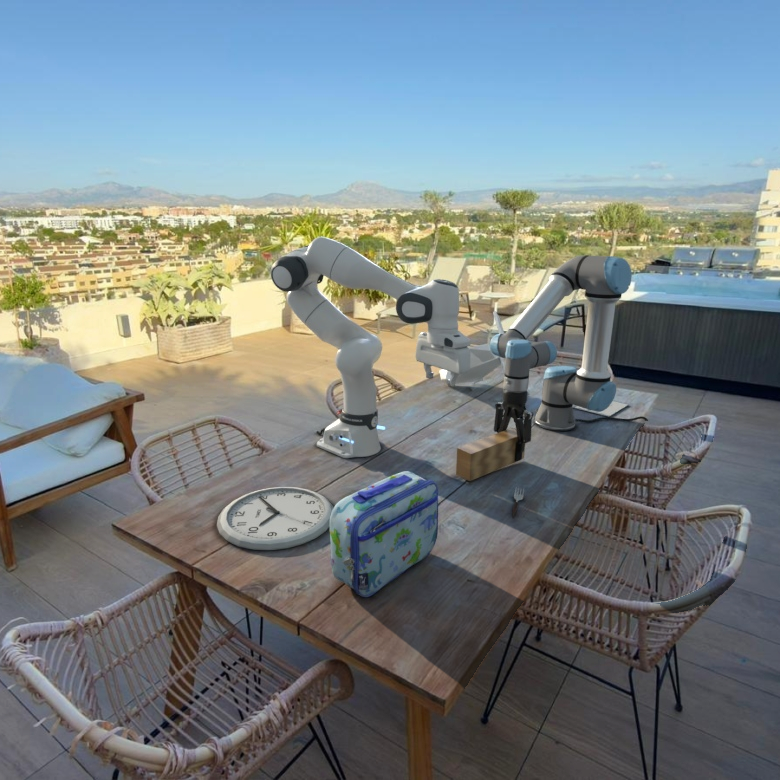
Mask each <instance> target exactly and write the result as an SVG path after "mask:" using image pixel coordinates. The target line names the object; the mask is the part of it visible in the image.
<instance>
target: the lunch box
mask: <svg viewBox="0 0 780 780" xmlns="http://www.w3.org/2000/svg"><path fill="white" fill-rule="evenodd" d="M438 531H439V490H438V485H437V483H436V482H435V481H434V480H432V479H424V478H423V477H422V476H420V475H417V474H415V473H414V472H412V471H408V470H406V471H405V470H404V471H400V472H399V473H395V474H393V475H391V476H388V477H386V478H384V479H382V480H379V481H377V482H375V483H373V484H371V485H368V486H366V487H364V488H362V489H360V490H358V491H356V492H353V493H352V494H350V495H347V496H345V497H343V498H342V499H340V500H339V501H338V502H337V503H335V505H334V506H333V510H332V513H331V516H330V526H329V541H330V565H331V572H332V575H333V577H334V579H335V580H337V581H339V582H341V583H343V584H345V585H347V586H348V587H349V588H351V589H352V590H354V592H355V594H357V595H359V596H360V597H363V598H369V597H371V596H374V595H375V594H376V593H377V592H378V591H380V590H381V589H383V588H384V587H385V586H386V585H387V584H389V583H390V582H392V581H393V580H395V579H397V578H398V577H399V576H400V575H402V574H403V573H404V572H405V571H406V570H408V569H409V568H410V567H412V566H413V565H416V564H417V563H419V562H421V561H422V560H424V559H425V558H426V557H428V555H430V553H431V552H432V550H433V549H434V547H435V545H436V542H437V540H438Z"/></svg>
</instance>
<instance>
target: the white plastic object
mask: <svg viewBox="0 0 780 780" xmlns="http://www.w3.org/2000/svg"><path fill="white" fill-rule="evenodd" d="M492 315H493V319H494V321H495V324H496V325H495V326H496V328H497V332H498V334H505V331H504V328H503V325H502V321H501V318H500V315H499V314H498V312H497V311H496V310H495V311H492ZM467 347H468V348H469V350H470V355H471V356H470V370H469V371H468V372H467V373H465V374H459V376H458V377H457V379H456V381H455V385H458V384H467V383H468V384H469V383H473V384H477V383H480V382H482V381H484V378H485V377H486V376H487V375H489V374H490V373H492V372H494V371H495V370H496V369H497V368H499V367H500V366H502V370H503V373H505V358H501V357H499V356H497V355H494V354H493V353H492V352H491V350H490V343H488V342H487V343H483V344H479V345H473V346H467ZM438 372H439V376H440V381H442V383H443V384H444V385H445V386H449V385H448V380H449V379H450V378H451V376H452V375H451V372H450V371H447V370H444V369H441V368H440V370H439V371H438ZM527 392H528V394H527V397H528V396H531V395H530V390H529V388H528V389H527Z"/></svg>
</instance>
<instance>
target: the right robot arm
mask: <svg viewBox="0 0 780 780" xmlns="http://www.w3.org/2000/svg"><path fill="white" fill-rule="evenodd" d="M631 283H632V269H631V265H630V264H629V262H628V261H627V260H626V259H625V258H623V257H617V256H613V255H590V254H581V255H578V256H577V255H576V256H574V257H572V258H571V259H569V260H566V261H565V262H563V263H562V264H561V265H560V266H559V267H557V268H556V269H554V271H553V272H552V274H551V275H550V276H549V277H548V278H547V284H545V286H544V287H543V288H542V289H541V291H540V292H539V293H538V294H537V295H536V296H535V298H534V299H533V300H532V301H531V303H530V304H529V305H528V306H527V307H526V308H525V309H524V310H523V312H522V313H521V314H519V316H518V317H517V318H516V320H515V321H514V322H513V324H512V325H510V327H509V328H508V329H507V330H506V331H505V332H504V334H499V333H497V334H495V335H493V337H491V339H490V342H489V345H490V350H491V352H492V353H493V354H494V355H497V356H499V357H501V358H505V373H504V372H503V373H504V374H503V390H502V399H501V400H502V401H499V402H496V403H494V407H495V414H494V415H495V416H494V424H493V431H494V433H496V434H497V433H499V432H502V431H505V430H508V427H509V424H510V422H511V418H512V419H513V422H514V424H515V429H516V431H517V437H518V442H516V448H515V462H514V463H516V462H520V461H522V460H523V459H522V452H524V447H525V448H526V444H528V443H529V442H531V441H532V423H533V418H534V424H535V425H536V426H537V427H539V428H542V429H544V430H549V431H556V432H567V431H572V430H574V429H575V428H576V422H579V423H594V422H596V421H602V420H610V421H611V420H612V421H621V422H632V421H633V422H634V421H637V420H644V421H646V422H649V419H648V418H647V417H645V416H637V417H633V418H621V417H612V416H609V417H608V416H600V417H597V418H594V419H581V418H575V417H576V416H575V413H574V407H573V406H575V407H576V406H579V407H582V408H585V409H588V410H592V411H596V412H601V411H604V410H605V409H607V408H608V407H609V405H610V404H611V403H612V401H614V400H615V398H616V397H615V396H616V394H617V386H616V385H617V384H615V383H614V382H613V381H611V379H612V378H611V377H612V374H611V372H610V371H609V370H608V366H609V359H610V351H611V342H612V335H613V326H614V319H615V310H616V303H617V302H618V301H619V300H621V299H622V295H623V294H626V293H627V292H628V290H629V288H630V286H631ZM576 290H585V291H584V297H585V298H586V300H587V301H588V305H587V315H586V316H587V317H586V322H585V323H586V325H585V333H584V341H583V351H582V358H581V359H582V360H581V367H580V368H579V369H578V368H577V367H576V366H571V365H570V366H569V365H557V366H556V365H555V366H550V367H547V368H546V369H545V371H544V375H543V378H542V379H543V381H542V382H543V383H542V394H541V402H540V405H539V407H538V409H536V408H535V409H534V412H535V415H534V412H532V411H529V410H527V407H526V404H527V401H528V396H527V394H528V392H527V389H528V390H529V383H530V382H529V381H530V370H531V369H534V368H535V369H536V368H539V367H546V366H548V365H549V364H550V365H551V364H552V363H554V362H555V361H556V359H557V357H558V349H557V347H556V345H555V344H554V343H553V342H552V341H549V340H546V341H544V340H542V341H534V340H530V339H531V337H532V336H533V335H534V334H535V333H536V331H538V330H539V328H540V327H541V326H542V325H543V323H544V322H545V321H546V320H547V319H548V318H549V316H550V315H551V314H552V313H553V311H554V310H555V309H556V308H557V307H558V305H559V304H560V303H561V302H562V300H563V299H564V298H565V297H569V296H570V295H572V293H573V292H574V291H576ZM534 416H535V417H534Z"/></svg>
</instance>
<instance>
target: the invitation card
mask: <svg viewBox="0 0 780 780" xmlns="http://www.w3.org/2000/svg"><path fill="white" fill-rule="evenodd" d="M628 406H629V404H627V403H623V402H618V401H614V400H613V401H612V403H611V404H610V405H609V407H608V408H607V409H605V410H604V411H601V412H596V411H592V410H588V409H585V408H582V407H579V406H576V405H575V406H574V407H573V409H575V410H581V411H584V412H587V413H593V414H596V415H600V416H603V417H612V416H613V415H614V414H616V413H617V412H619V411H621V410H623V409H624V408H626V407H628Z"/></svg>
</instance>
